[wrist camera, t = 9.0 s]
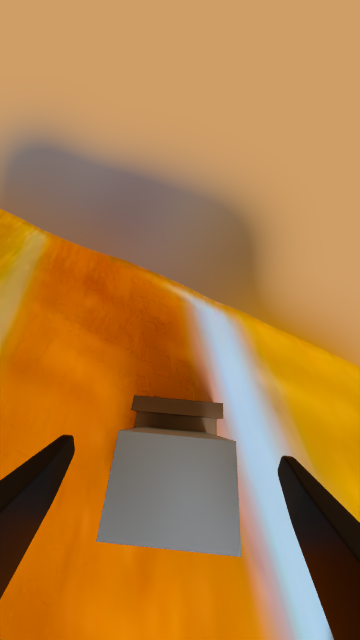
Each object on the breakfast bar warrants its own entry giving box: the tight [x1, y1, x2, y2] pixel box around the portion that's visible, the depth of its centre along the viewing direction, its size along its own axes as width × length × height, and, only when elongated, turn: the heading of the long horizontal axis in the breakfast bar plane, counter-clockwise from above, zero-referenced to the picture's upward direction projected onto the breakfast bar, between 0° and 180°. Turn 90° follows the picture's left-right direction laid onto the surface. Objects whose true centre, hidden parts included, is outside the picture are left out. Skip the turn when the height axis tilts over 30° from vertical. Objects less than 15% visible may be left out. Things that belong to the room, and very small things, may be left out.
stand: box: [131, 395, 223, 435], centre depth 17 cm, size 9×8×4 cm
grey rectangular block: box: [96, 427, 241, 557], centre depth 13 cm, size 4×6×10 cm, turn 85°
